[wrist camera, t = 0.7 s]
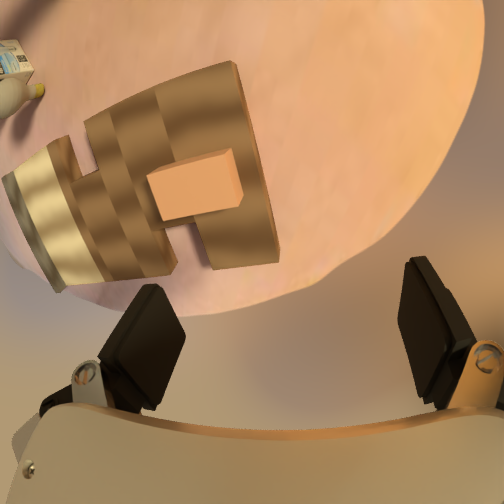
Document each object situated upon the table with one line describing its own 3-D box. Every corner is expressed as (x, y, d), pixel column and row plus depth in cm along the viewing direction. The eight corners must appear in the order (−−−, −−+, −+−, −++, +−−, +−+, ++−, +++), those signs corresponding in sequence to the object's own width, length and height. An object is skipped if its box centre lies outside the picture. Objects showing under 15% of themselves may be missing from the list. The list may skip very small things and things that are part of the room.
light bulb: (32, 109, 26) (-18, 125, 18) (33, 76, 23) (-18, 86, 15) (53, 105, 26) (-1, 120, 18) (55, 69, 23) (0, 77, 15)
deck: (21, 167, 32) (1, 178, 27) (236, 63, 23) (225, 57, 19) (70, 276, 42) (55, 293, 38) (280, 248, 34) (278, 272, 30)
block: (159, 167, 27) (146, 175, 24) (231, 147, 25) (224, 154, 22) (173, 209, 29) (163, 221, 27) (243, 195, 27) (238, 206, 25)
